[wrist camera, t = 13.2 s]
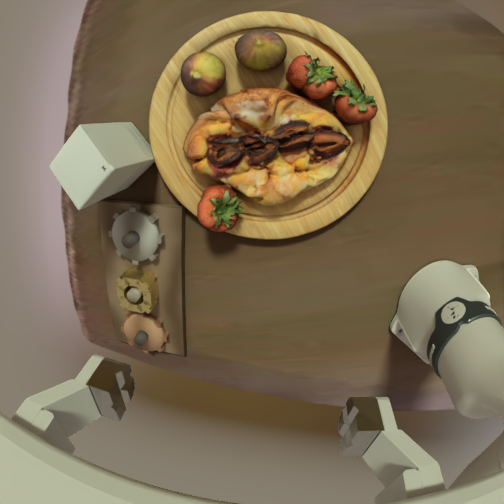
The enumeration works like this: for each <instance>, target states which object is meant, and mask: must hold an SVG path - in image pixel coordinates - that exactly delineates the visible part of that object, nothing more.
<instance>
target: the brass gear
mask: <svg viewBox="0 0 504 504" xmlns="http://www.w3.org/2000/svg"><path fill="white" fill-rule="evenodd" d="M156 277H157V276H156V275H155V274H154V273H152V274H150V273H149V272H148V271H147V270H141V269H135V268H133V269H132V270H131V271H130V269H129V268H128V269H127V270H126V271H125V272H124V273H123V274H122V275H121V276H120V277H119V278H118V279H117V280H116V281H117V282H118V284H117V285H116V288H117V296H118V300H119V301H120V302H121V303H120V305H121V307H122V308H124V307H126V308H127V309H128V310H130V311H134V312H139V313H143V312H145V311H146V312H147V313H150V312H151V311H152V309H153V308H154V306H155V305H156V303H157V302H158V299H157V298H158V296H159V289H158V281H157V280H156V279H155V278H156ZM133 286H134V287H137V288H138V289H139V290H140V291H141V292H142V293H143V295H142V296H141V297H140V298H139V300H138V301H137V302H135V303H134V302H131V301H129V299H128V298H127V293H128V292H129V290H130V289H131V288H132V287H133Z"/></svg>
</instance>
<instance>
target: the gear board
mask: <svg viewBox="0 0 504 504" xmlns="http://www.w3.org/2000/svg"><path fill="white" fill-rule="evenodd" d="M99 218H100V232H101V243H102V253H103V262H104V270H105V277H106V284H107V291H108V297H109V304H110V309H111V315H112V320H113V325H114V330H115V335H116V340H118V341H122V342H126V343H129V344H130V345H131V346H132V345H135V346H136V347H138V348H140V349H142V350H143V353H147V354H148V353H149V352H150V351H156V350H157V351H158V352H159V353H160V352H161V351H163V352H168V353H172V354H177V355H182V356H184V355H185V353H186V328H185V285H184V245H185V207H184V206H181V205H170V204H159V203H147V202H135V201H123V200H109V199H103V200H101V201H99ZM128 268H129V269H130V271H131V270H132V269H133V268H135V269H141V270H147V271H148V272H149V273H150V274H152V273H154V274H155V275H156V276H157V277H156V278H155V279H156V280H157V281H158V289H159V296H158V298H157V299H158V302H157V303H156V305H155V306H154V308H153V309H152V311H151V312H150V313H147V312H146V311H145V312H143V313H139V312H134V311H130V310H128V309H127V308H126V307H124V308H122V307H121V305H120V303H121V302H120V301H119V300H118V296H117V288H116V285H117V284H118V282H117V281H116V280H117V279H118V278H119V277H120V276H121V275H122V274H123V273H124V272H125V271H126V270H127V269H128ZM142 295H143V293H142V292H141V291H140V290H139V289H138V288H137V287H134V286H133V287H132V288H131V289H130V290H129V292H128V293H127V298H128V299H129V301H131V302H134V303H135V302H137V301H138V300H139V298H140V297H141V296H142Z"/></svg>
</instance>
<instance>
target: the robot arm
mask: <svg viewBox="0 0 504 504" xmlns="http://www.w3.org/2000/svg"><path fill="white" fill-rule="evenodd" d="M489 298H490V295H489V293H488V292H487V291H486V289H485V288H484V287H483V286H482V285H481V283H480V282H479V277H478V270H477V268H476V267H475V266H474V265H464V266H463V265H459V264H457V263H455V262H452V261H438V262H434V263H432V264H429V265H427V266H425V267H424V268H422V269H421V270H420V271H418V272H417V273H416V274H415V275H414V276H413V277H412V278H411V279H410V280H409V282H408V283H407V285H406V286H405V288H404V290H403V291H402V294H401V296H400V299H399V304H398V310H397V313H396V315H395V317H394V318H393V320H392V322H391V324H390V330H391V331H392V332H393V333H394V334H395V335H396V336H397V337H398V338H399V339H400V340H401V341H402V342H403V343H405V344H406V345H407V346H408V347H409V348H410V349H411V350H412V351H413V352H414V353H415V354H417V355H418V356H419V357H420V358H421V359H422V360H423V361H424V362H425V363H427V364H431V367H432V368H433V370H434V372H435V373H436V374H437V376H438V377H440V378H441V379H442V380H443V382H444V385H445V387H446V389H447V391H448V393H449V395H450V397H451V400H452V402H453V404H454V406H455V409H456V410H457V411H458V412H459V413H460V414H462V415H464V416H466V417H468V418H472V419H479V418H484V417H487V416H491V415H493V414H496V413H498V414H499V416H500V417H501V419H502V420H503V423H504V328H503V327H502V323H501V321H500V319H499V318H498V316H497V314H496V313H495V311H494V310H493V309H492V308H490V305H491V304H490V300H489ZM400 329H401V330H400ZM399 330H400V331H399ZM131 372H132V371H131V367H130V365H128V364H125V363H121V362H118V361H115V360H112V359H109V358H106V357H103V356H100V355H97V354H95V355H93V356H92V357H91V358H90V359H89V361H88V362H87V364H86V365H85V366H84V368H83V369H82V370H81V372H80V373H79V374H78V376H77V377H76V379H75V380H72V379H71V380H69V381H66V382H64V383H62V384H59V385H57V386H55V387H52V388H50V389H48V390H45V391H43V392H41V393H38V394H36V395H33V396H31V397H28V398H27V399H26V400H25V401H24V402H23V404H22V405H21V406H20V408H19V409H18V410H17V412H16V413H15V414H14V416H13V417H12V419H10V418H9V417H7V416H6V415H4V414H3V413H2V412H0V504H238V503H231V502H224V501H218V500H212V499H207V498H202V497H197V496H192V495H187V494H183V493H179V492H175V491H171V490H168V489H164V488H160V487H157V486H153V485H150V484H147V483H144V482H141V481H137V480H134V479H132V478H128V477H126V476H123V475H120V474H117V473H115V472H112V471H109V470H107V469H105V468H102V467H100V466H98V465H95V464H93V463H91V462H88V461H86V460H84V459H82V458H79V457H77V456H75V455H73V452H74V450H75V448H74V445H73V444H72V442H71V441H70V439H69V438H68V437H70V436H71V435H73V434H74V433H76V432H78V431H79V430H81V429H82V428H84V427H85V426H87V425H89V424H90V423H91V422H93V421H95V420H96V419H97V418H99V417H101V415H102V416H105V417H108V418H111V419H114V420H117V421H120V420H121V418H122V416H123V414H124V412H125V410H126V407H125V404H126V403H127V402H129V401H131V399H132V396H133V394H134V389H135V383H134V379H133V378H132V377H131V376H130V374H131ZM346 407H347V408H345V409H344V410H342V412H341V415H340V417H339V422H338V429H339V433H340V435H341V436H342V437H343V438H342V439H341V441H340V448H341V456H362V458H363V459H364V460H365V461H366V463H367V464H368V466H369V467H370V468H371V470H372V471H373V472H374V473H375V475H376V476H377V477H378V479H379V480H380V481H381V482H382V484H383V485H384V486H385V489H384V490H383V491H382V492H381V493H379V494H378V495H377V496H376V497H375V504H504V431H503V432H502V434H501V435H500V436H499V437H498V438H497V439H496V440H495V441H494V442H493V443H491V444H490V445H489V446H488V447H487V448H486V449H485V450H484V451H483V452H482V453H481V454H480V455H479V456H478V457H476V458H475V459H474V460H473V461H472V462H471V463H470V464H469V465H468V466H467V467H466V468H465V469H464V470H463V472H462V473H461V474H460V475H459V476H458V477H457V479H456V480H455V481H454V482H453V483H452V484H451V486H450V487H449V488H448V489H446V490H445V486H444V482H443V478H442V475H441V471H440V467H439V464H438V463H437V462H436V461H435V460H434V459H433V458H432V457H431V456H430V455H429V454H427V453H426V452H425V451H424V450H423V449H422V448H421V447H420V446H419V445H417V444H416V443H415V442H414V441H413V440H412V439H411V438H410V437H409V436H408V435H406V434H405V433H404V432H403V431H402V430H398V429H397V425H396V421H395V418H394V414H393V411H392V407H391V404H390V400H389V398H388V397H350V398H349V399H348V400H347V402H346Z"/></svg>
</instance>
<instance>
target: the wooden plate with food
mask: <svg viewBox="0 0 504 504" xmlns="http://www.w3.org/2000/svg"><path fill="white" fill-rule="evenodd" d="M387 137H388V115H387V108H386V103H385V99H384V96H383V93H382V89H381V87H380V84H379V82H378V79H377V77H376V75H375V73H374V72H373V70H372V69H371V67H370V65H369V64H368V63H367V61H366V60H365V59H364V57H363V56H362V55H361V54H360V53H359V52H358V50H357V49H356V48H355V47H354V46H353V45H352V44H351V43H350V42H349V41H347V40H346V39H345V38H344V37H343V36H341V35H340V34H338V33H337V32H335V31H334V30H332V29H331V28H329V27H327V26H326V25H324V24H322V23H320V22H317V21H315V20H312V19H310V18H307V17H304V16H300V15H297V14H292V13H285V12H276V11H256V12H249V13H244V14H239V15H235V16H232V17H229V18H226V19H223V20H221V21H218V22H217V23H215V24H213V25H211V26H208V27H206V28H205V29H203V30H202V31H200V32H199V33H197V34H196V35H195V36H193V37H192V38H191V39H190V40H188V41H187V42H186V43H185V44H184V45H183V46H182V47H181V48H180V49H179V50H178V51H177V52H176V53H175V55H174V56H173V57H172V58H171V60H170V61H169V63H168V64H167V65H166V67H165V69H164V70H163V72H162V74H161V76H160V78H159V80H158V82H157V85H156V87H155V90H154V92H153V96H152V101H151V106H150V113H149V139H150V145H151V150H152V154H153V158H154V161H155V163H156V166H157V169H158V171H159V173H160V175H161V177H162V179H163V180H164V182H165V184H166V185H167V187H168V188H169V190H170V191H171V192H172V194H173V195H174V196H175V197H176V199H177V200H178V201H179V202H180V203H181V204H182V205H183V206H184V207H185V208H187V209H188V210H189V211H190V212H191V213H192V214H194V215H195V216H196V217H197V218H198V220H199V222H200V223H201V224H202V225H203V226H204V227H206V228H208V229H210V230H211V231H216V232H227V233H230V234H233V235H237V236H241V237H246V238H252V239H263V240H280V239H289V238H293V237H297V236H301V235H305V234H308V233H311V232H314V231H317V230H319V229H322V228H324V227H326V226H328V225H329V224H331V223H333V222H335V221H336V220H338V219H339V218H340V217H342V216H343V215H345V214H346V213H347V212H348V211H349V210H351V209H352V208H353V207H354V206H355V205H356V204H357V203H358V202H359V200H360V199H361V198H362V197H363V196H364V194H365V193H366V192H367V191H368V189H369V188H370V186H371V185H372V183H373V181H374V180H375V178H376V176H377V174H378V172H379V169H380V167H381V164H382V162H383V158H384V154H385V150H386V145H387Z"/></svg>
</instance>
